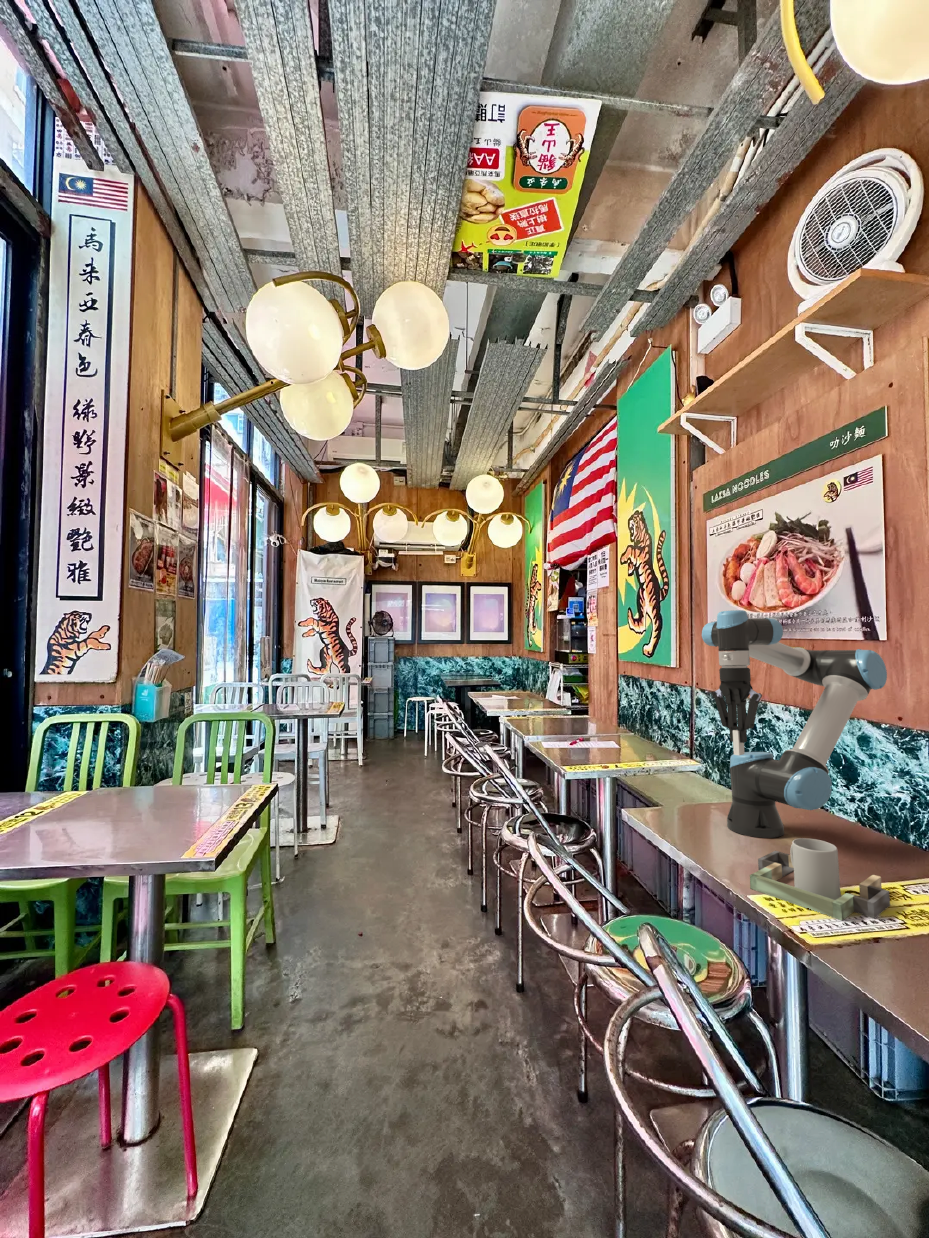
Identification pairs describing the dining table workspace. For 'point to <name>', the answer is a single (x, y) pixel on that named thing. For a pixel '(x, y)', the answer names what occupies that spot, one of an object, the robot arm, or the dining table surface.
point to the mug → (816, 867)
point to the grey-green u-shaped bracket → (780, 865)
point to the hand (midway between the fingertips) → (739, 754)
